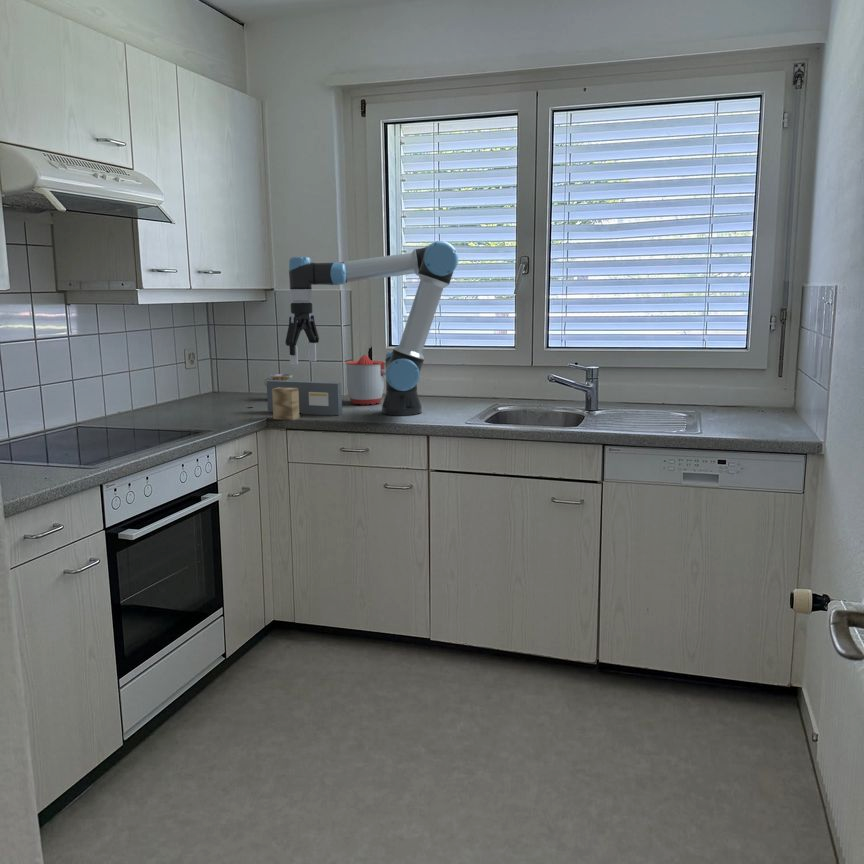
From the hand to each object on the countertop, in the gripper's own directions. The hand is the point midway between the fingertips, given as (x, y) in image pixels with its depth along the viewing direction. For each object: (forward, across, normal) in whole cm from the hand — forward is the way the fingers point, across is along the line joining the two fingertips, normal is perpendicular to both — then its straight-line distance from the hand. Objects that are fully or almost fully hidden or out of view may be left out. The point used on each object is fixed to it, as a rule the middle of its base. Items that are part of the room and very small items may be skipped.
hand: (303, 362), depth 277 cm
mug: (+21, -42, -35) cm, 59 cm away
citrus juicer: (+21, -44, +5) cm, 49 cm away
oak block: (+21, -2, -9) cm, 23 cm away
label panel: (+21, -14, -8) cm, 26 cm away
